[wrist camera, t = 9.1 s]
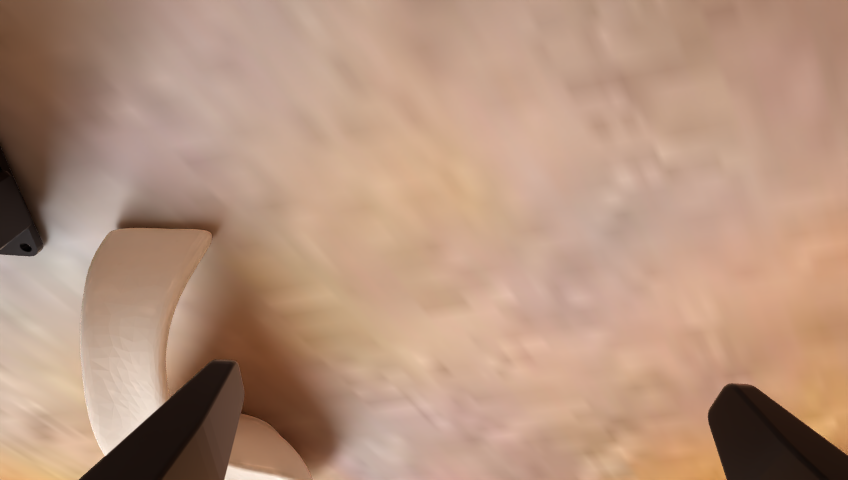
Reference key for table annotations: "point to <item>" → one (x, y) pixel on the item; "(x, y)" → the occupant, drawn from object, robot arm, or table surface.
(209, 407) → the robot arm
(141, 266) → the spoon rest
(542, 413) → the table surface
